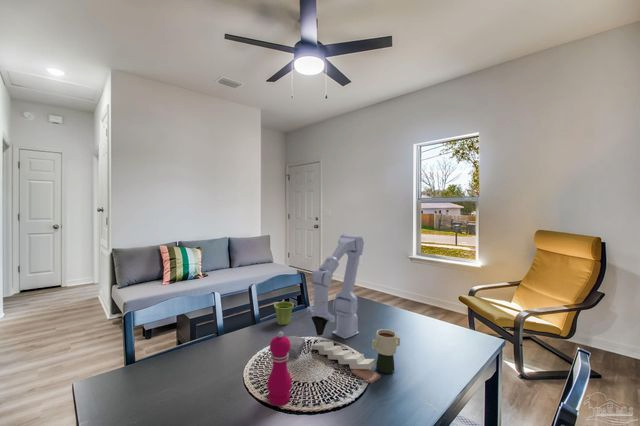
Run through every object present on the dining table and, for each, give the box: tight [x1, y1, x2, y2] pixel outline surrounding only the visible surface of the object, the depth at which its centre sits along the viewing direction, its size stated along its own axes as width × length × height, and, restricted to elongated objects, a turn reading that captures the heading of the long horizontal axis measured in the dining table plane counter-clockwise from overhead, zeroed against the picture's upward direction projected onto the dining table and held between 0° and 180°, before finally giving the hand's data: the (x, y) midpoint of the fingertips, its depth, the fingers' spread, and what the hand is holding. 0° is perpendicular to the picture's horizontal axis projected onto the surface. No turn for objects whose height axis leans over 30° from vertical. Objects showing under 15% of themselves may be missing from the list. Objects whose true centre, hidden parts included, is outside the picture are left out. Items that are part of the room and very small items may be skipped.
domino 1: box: [310, 341, 335, 351], centre depth 116 cm, size 5×2×8 cm
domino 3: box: [327, 349, 354, 360], centre depth 109 cm, size 5×2×8 cm
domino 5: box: [348, 358, 377, 370], centre depth 103 cm, size 5×2×8 cm
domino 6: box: [351, 369, 381, 384], centre depth 101 cm, size 5×2×8 cm
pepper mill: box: [266, 331, 293, 406], centre depth 87 cm, size 7×7×20 cm
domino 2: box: [317, 345, 344, 356], centre depth 113 cm, size 5×2×8 cm
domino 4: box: [338, 353, 366, 365], centre depth 106 cm, size 5×2×8 cm
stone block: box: [286, 335, 306, 359], centre depth 117 cm, size 12×5×10 cm
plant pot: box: [273, 301, 295, 326], centre depth 143 cm, size 9×9×9 cm
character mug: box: [371, 328, 401, 374], centre depth 104 cm, size 11×7×13 cm, turn 107°
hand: (319, 334), depth 117 cm, fingers closed
